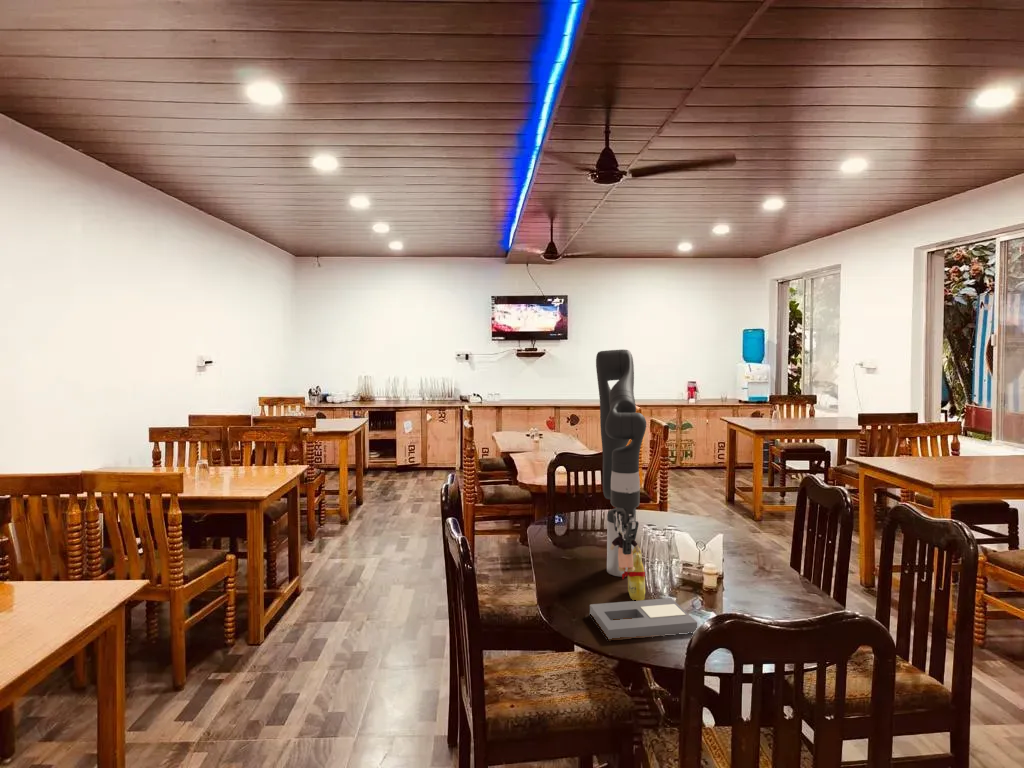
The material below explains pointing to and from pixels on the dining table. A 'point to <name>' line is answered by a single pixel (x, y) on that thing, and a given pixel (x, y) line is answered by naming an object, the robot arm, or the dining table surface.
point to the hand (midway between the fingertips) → (624, 551)
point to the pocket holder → (642, 618)
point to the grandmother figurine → (622, 558)
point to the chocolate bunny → (636, 578)
